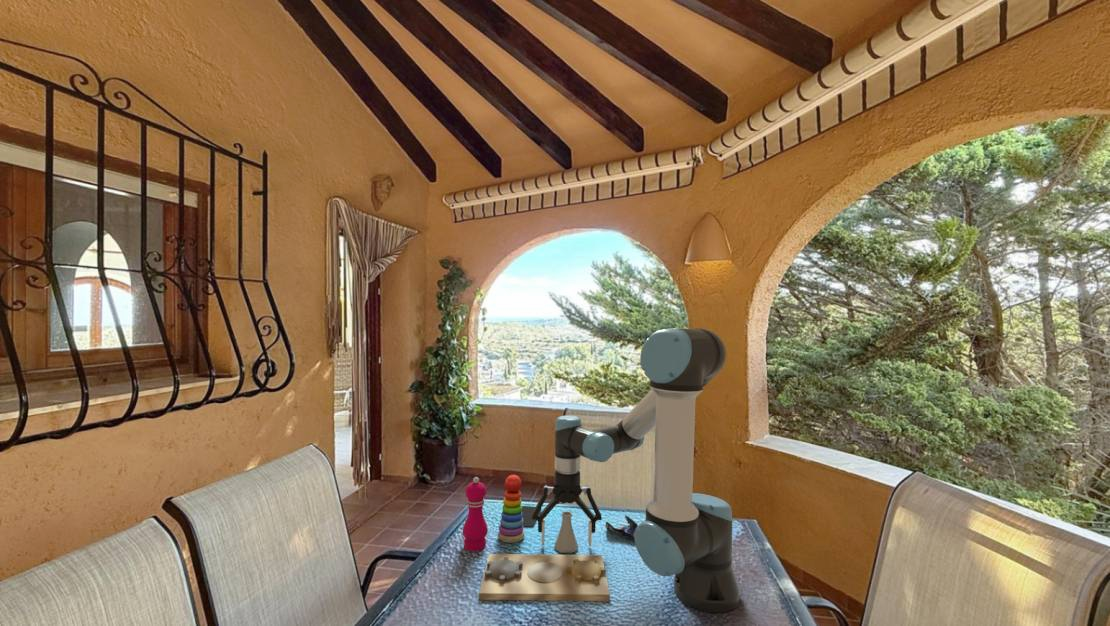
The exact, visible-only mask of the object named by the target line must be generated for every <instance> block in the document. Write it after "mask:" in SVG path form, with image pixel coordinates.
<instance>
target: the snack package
mask: <svg viewBox="0 0 1110 626" xmlns="http://www.w3.org/2000/svg"><path fill="white" fill-rule="evenodd" d="M624 517H625V521H626V522H627V524H628V525H622V523H619V525H620V526H619V527H617V528H616V527H614V526H613V525H612V524H611V523H610V522H608V521H605V525H604V526H605V528H606V531H611V532H612V533H615V534H618V535H619V536H620V537H623V538H632V539H634V540H635V530H636V528H637V526H638V525H639V524H638V523H637V522H636V521H635V520H633V518H630V516H628V515H626V514H625V515H624Z"/></svg>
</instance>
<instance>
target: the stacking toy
mask: <svg viewBox="0 0 1110 626" xmlns="http://www.w3.org/2000/svg"><path fill="white" fill-rule="evenodd" d="M504 487H505V489H506V491H505V492H504V498H503V500H502V503H503V505H502V512H501V518H500V520H499V521H500V523H499V525H498V533H497V536H498V537H497V538H498V539H499V540H500V541H501V542H503V543H508V544H509V543H510V544H513V543H514V544H515V543H518V542H520V541H522V540H523V539H524V537H525V531H524V529H525V527H523V518H522V516H523V513H522V506H523V505H522V499H521V496H522V493H521V490H520V489H521V487H522V480H521V478H520V477H519V476H518V474H517V475H516V474H511V475H510V474H509V476H507V477H506V479H505V481H504Z"/></svg>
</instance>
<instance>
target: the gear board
mask: <svg viewBox="0 0 1110 626" xmlns="http://www.w3.org/2000/svg"><path fill="white" fill-rule="evenodd" d="M606 571H607V570H606V567H605V565H604V559H603V555H602V554H533V553H532V554H526V553H524V554H523V553H522V554H521V553H520V554H519V553H518V554H517V553H488V557H487V561H486V565H485V568H484V572H483V576H482V580H481V583H480V584H481V585H480V588H479V591H478V600H479V601H483V600H486V601H487V600H489V601H495V600H496V601H570V602H571V601H572V602H573V601H575V602H576V601H579V602H580V601H581V602H582V601H584V602H585V601H587V602H591V601H592V602H598V601H599V602H610V601H611V594H610V588H609V584H608V580H607V575H606V574H607V572H606Z"/></svg>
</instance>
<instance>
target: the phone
mask: <svg viewBox="0 0 1110 626" xmlns="http://www.w3.org/2000/svg"><path fill="white" fill-rule="evenodd" d="M535 507H536V506H530V505H529V506H528V505H522V513H523V516H522V518H523V527H524V528H527V529H528V528H531V529H532V528H534V527H535V525H536V523H537V522H538V521H537V520H533V519H532V513H533V511H534V509H535ZM541 512H542V509H541V510H540V511H539V513H538V514H540V513H541Z"/></svg>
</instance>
